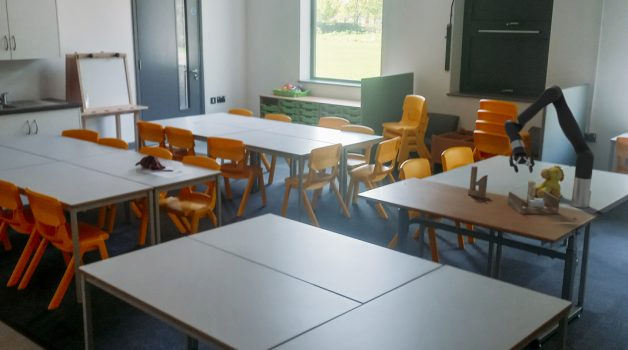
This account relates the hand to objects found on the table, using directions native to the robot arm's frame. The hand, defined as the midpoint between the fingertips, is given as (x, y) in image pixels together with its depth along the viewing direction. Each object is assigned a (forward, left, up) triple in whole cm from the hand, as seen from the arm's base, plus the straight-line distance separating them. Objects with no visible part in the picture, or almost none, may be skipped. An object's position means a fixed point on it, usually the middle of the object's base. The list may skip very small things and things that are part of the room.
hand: (524, 172), depth 386 cm
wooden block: (+21, -17, -19) cm, 33 cm away
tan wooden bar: (0, +12, -18) cm, 21 cm away
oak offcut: (0, +20, -18) cm, 27 cm away
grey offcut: (0, +20, -15) cm, 25 cm away
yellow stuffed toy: (-25, -18, -19) cm, 37 cm away
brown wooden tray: (0, +16, -19) cm, 25 cm away
